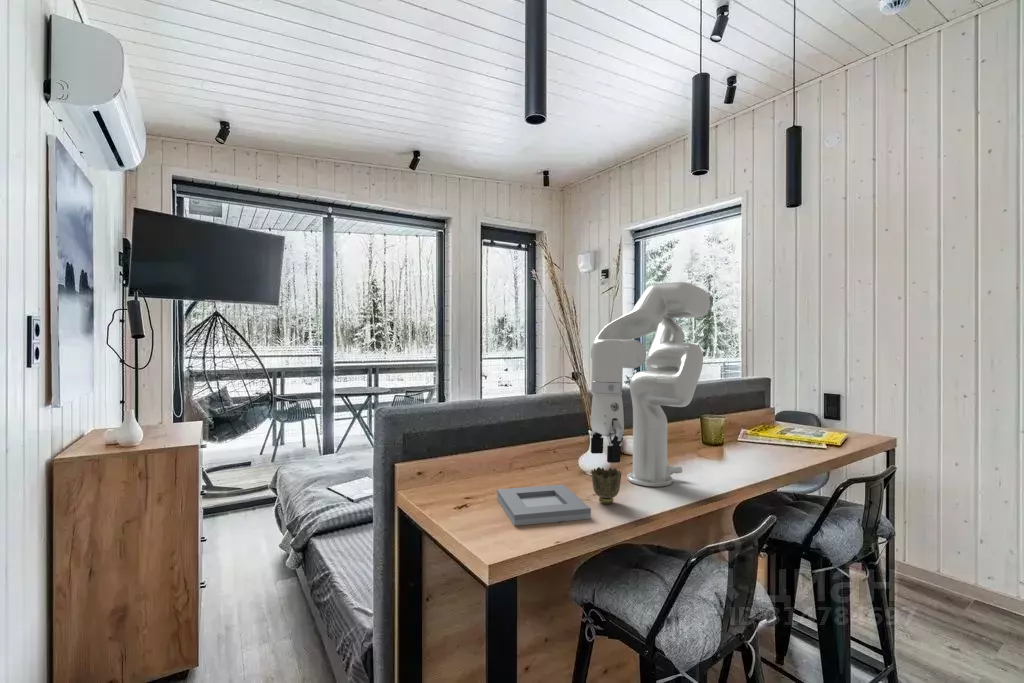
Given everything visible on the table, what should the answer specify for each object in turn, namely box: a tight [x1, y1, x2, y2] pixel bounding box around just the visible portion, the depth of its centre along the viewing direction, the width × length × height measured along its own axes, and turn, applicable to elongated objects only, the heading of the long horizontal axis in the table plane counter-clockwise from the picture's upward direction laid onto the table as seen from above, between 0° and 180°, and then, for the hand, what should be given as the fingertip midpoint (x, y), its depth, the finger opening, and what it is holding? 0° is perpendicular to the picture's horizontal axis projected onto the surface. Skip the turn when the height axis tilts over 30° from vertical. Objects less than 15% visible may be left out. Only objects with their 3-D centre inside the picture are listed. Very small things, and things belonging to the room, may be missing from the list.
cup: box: [590, 466, 622, 505], centre depth 122 cm, size 8×7×8 cm
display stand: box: [496, 484, 592, 527], centre depth 118 cm, size 18×18×2 cm
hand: (604, 457), depth 121 cm, fingers open, 9 cm apart
